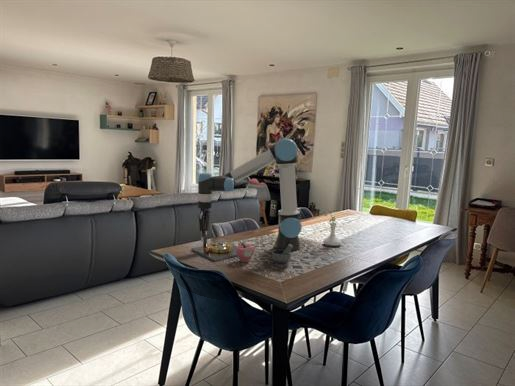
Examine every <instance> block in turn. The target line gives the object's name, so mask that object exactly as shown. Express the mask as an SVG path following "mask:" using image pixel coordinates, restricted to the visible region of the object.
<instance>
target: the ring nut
mask: <svg viewBox="0 0 515 386" xmlns="http://www.w3.org/2000/svg"><path fill="white" fill-rule="evenodd" d="M202 243H203V244H202V246H203V251H206V247H207V245H209V246H208V247H209V251H211V252H215V253H227V252H230V251H232V250H233V246H232V245H231V244H232V243H230V244H228V243H229V242H228V241H223V242H222V243H225V244H226V248H218V246H215V244H216V243H217V242H210V244H208V233H207V234H203V242H202Z"/></svg>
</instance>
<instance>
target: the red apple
mask: <svg viewBox="0 0 515 386" xmlns="http://www.w3.org/2000/svg"><path fill="white" fill-rule="evenodd" d="M236 253H237V258H238V259H239V261H240V262H241V263H248V262H249V261H250V260H251V258H252V257H253V255H254V253H255V248H254V246H253V245H251V244H244V243H243V242H241V243H240V245H239V246H238V247H237V249H236Z"/></svg>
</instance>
